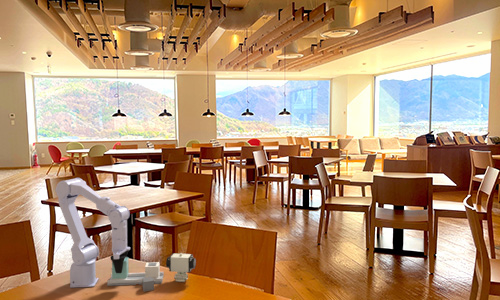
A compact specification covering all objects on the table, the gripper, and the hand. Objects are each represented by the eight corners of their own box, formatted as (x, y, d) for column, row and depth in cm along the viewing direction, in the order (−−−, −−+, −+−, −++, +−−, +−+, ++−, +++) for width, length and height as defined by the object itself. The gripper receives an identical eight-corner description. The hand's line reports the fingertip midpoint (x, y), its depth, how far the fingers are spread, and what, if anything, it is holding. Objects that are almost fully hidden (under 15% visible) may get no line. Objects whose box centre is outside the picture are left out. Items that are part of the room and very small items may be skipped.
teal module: (112, 278, 158) (112, 261, 157) (114, 274, 162) (114, 257, 162) (126, 278, 159) (126, 260, 158) (128, 273, 163) (128, 256, 162)
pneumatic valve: (193, 283, 166) (193, 255, 165) (166, 282, 168) (165, 254, 167) (196, 278, 172) (196, 251, 171) (170, 276, 173) (169, 249, 172)
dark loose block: (143, 291, 159) (143, 282, 158) (142, 287, 162) (142, 278, 162) (154, 290, 160) (153, 280, 160) (152, 286, 164) (152, 276, 163)
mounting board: (107, 285, 163) (106, 269, 163) (112, 276, 173) (111, 261, 173) (161, 283, 166) (161, 267, 166) (163, 274, 176) (163, 259, 176)
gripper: (126, 242, 152) (127, 277, 154) (132, 231, 167) (133, 263, 168) (107, 243, 151) (108, 277, 153) (115, 232, 166) (115, 263, 167)
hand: (120, 270), depth 160 cm, fingers closed on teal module, 4 cm apart
